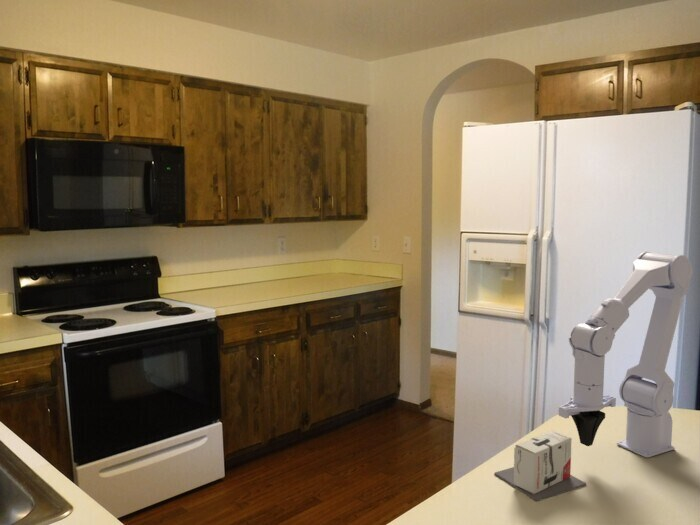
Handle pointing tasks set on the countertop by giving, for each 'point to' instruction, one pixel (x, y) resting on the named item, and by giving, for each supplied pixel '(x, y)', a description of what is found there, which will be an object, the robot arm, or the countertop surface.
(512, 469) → the mat
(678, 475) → the countertop surface
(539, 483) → the ink box
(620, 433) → the countertop surface
